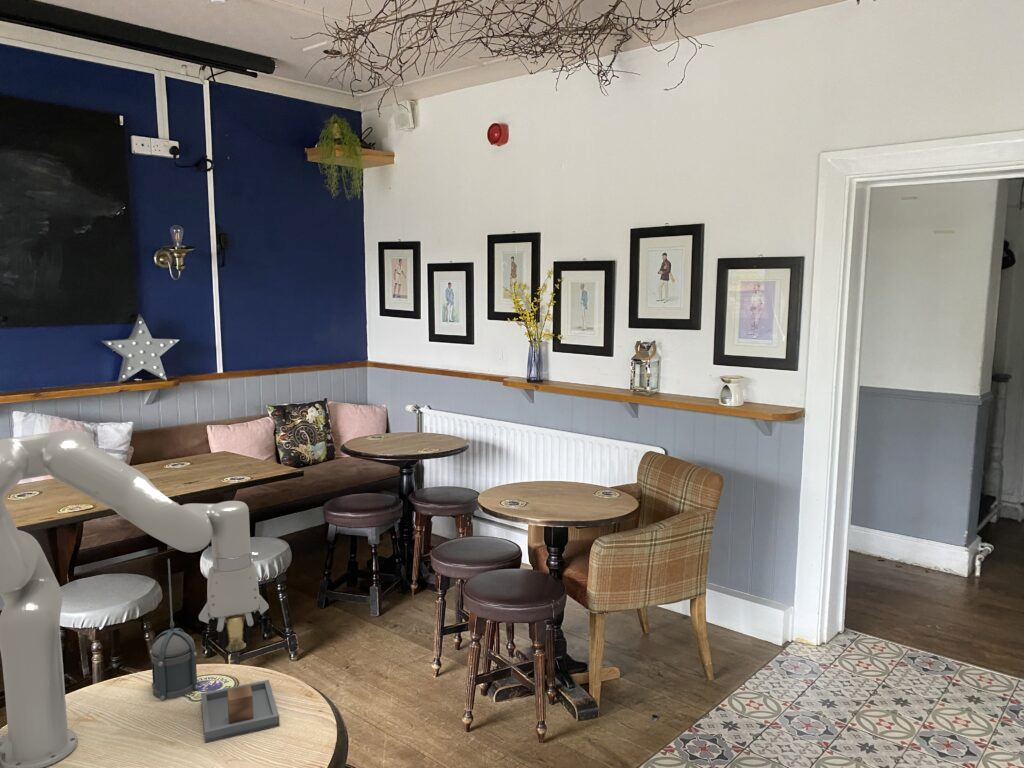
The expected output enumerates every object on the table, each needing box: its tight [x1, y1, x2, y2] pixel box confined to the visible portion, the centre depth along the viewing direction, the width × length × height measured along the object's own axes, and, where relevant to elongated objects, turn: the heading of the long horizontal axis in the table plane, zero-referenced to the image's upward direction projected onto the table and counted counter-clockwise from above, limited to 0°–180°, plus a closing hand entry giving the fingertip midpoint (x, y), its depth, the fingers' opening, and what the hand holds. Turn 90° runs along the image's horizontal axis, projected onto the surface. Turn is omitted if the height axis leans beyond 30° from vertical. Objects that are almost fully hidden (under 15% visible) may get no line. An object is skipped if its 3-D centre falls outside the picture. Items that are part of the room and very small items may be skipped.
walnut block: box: [227, 685, 253, 724], centre depth 154 cm, size 4×4×6 cm
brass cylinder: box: [224, 613, 247, 652], centre depth 159 cm, size 4×4×7 cm
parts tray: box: [200, 679, 280, 744], centre depth 157 cm, size 14×16×2 cm
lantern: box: [149, 558, 200, 701], centre depth 166 cm, size 11×11×30 cm
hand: (235, 643), depth 159 cm, fingers closed on brass cylinder, 4 cm apart
